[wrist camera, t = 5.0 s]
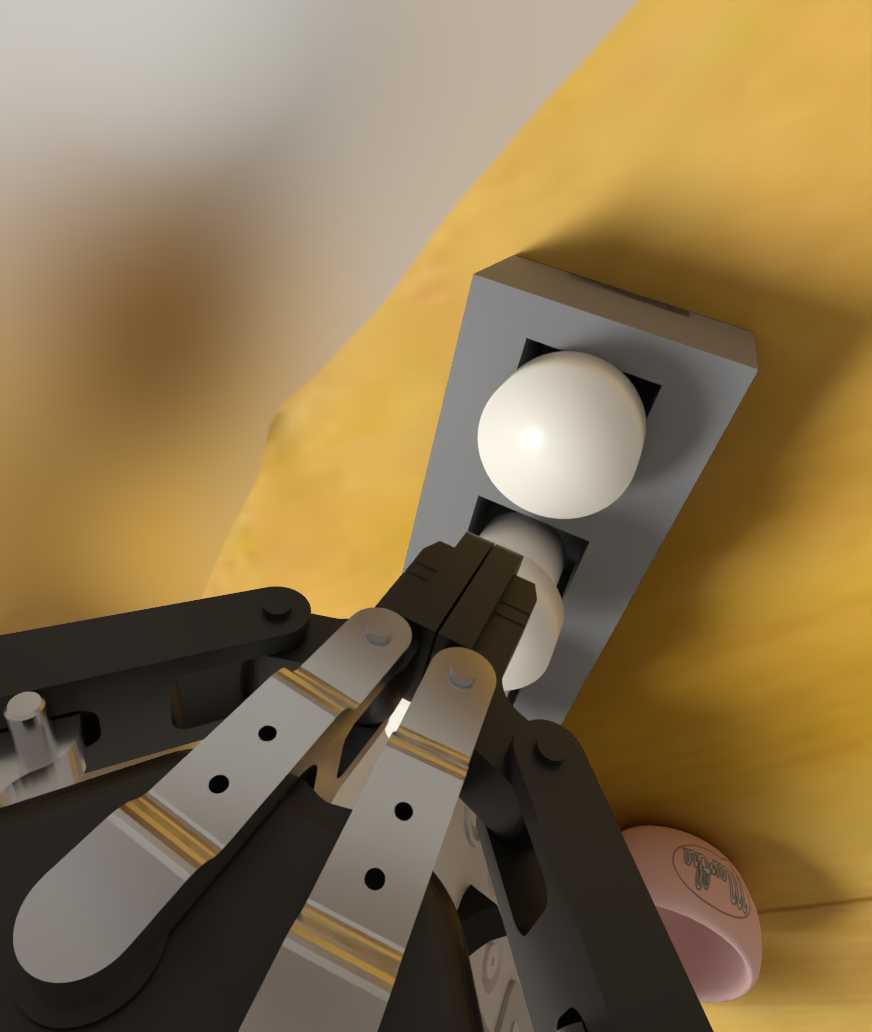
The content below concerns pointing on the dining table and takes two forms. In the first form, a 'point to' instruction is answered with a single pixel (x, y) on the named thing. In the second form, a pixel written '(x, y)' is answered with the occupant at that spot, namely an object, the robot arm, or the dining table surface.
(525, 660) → the knob
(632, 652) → the dining table surface
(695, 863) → the mug
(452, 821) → the rounded white slab
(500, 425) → the knob
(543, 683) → the mount
